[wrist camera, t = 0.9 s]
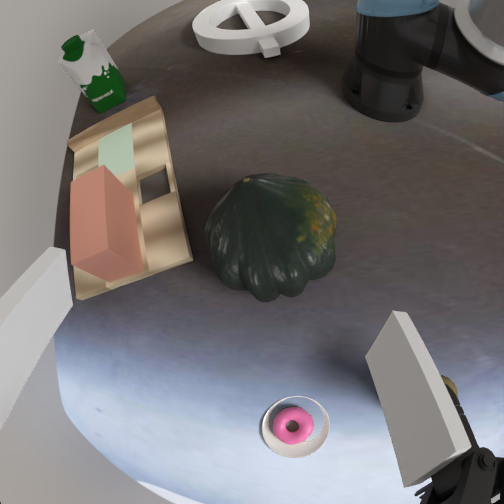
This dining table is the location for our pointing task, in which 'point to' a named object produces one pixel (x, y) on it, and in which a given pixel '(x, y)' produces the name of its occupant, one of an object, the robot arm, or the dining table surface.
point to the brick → (103, 226)
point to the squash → (271, 236)
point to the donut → (294, 441)
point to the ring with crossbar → (251, 26)
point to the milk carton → (93, 71)
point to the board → (139, 193)
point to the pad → (117, 150)
